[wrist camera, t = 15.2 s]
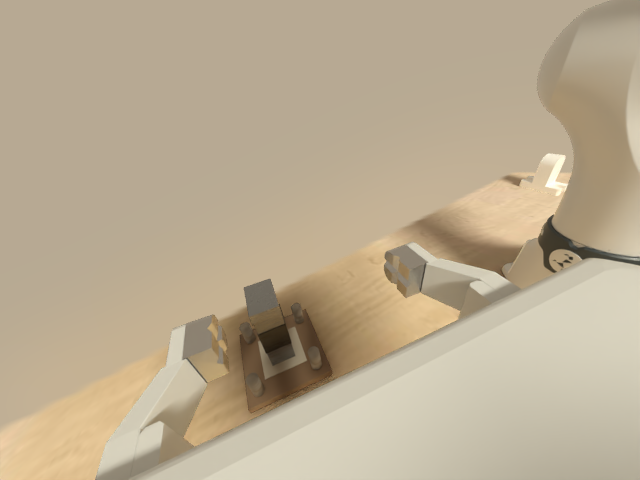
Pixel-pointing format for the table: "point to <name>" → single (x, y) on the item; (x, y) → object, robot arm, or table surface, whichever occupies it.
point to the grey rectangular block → (269, 321)
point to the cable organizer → (546, 176)
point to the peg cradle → (287, 375)
